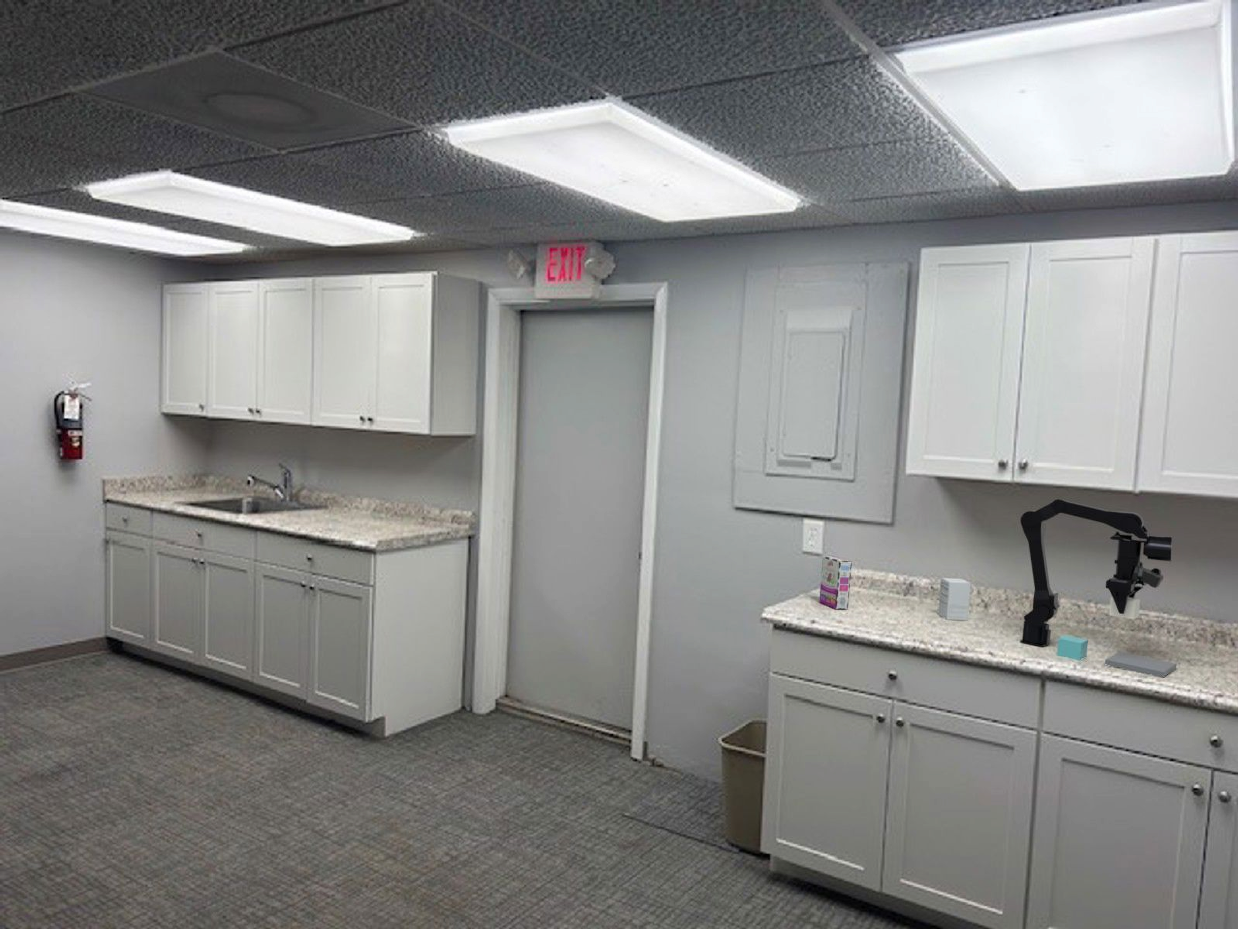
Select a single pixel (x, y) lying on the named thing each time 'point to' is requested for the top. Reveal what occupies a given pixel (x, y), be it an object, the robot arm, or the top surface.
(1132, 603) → the cream brick
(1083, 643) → the teal brick
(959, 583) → the supplement box
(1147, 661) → the baseplate
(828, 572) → the candy bar box
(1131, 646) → the top surface
